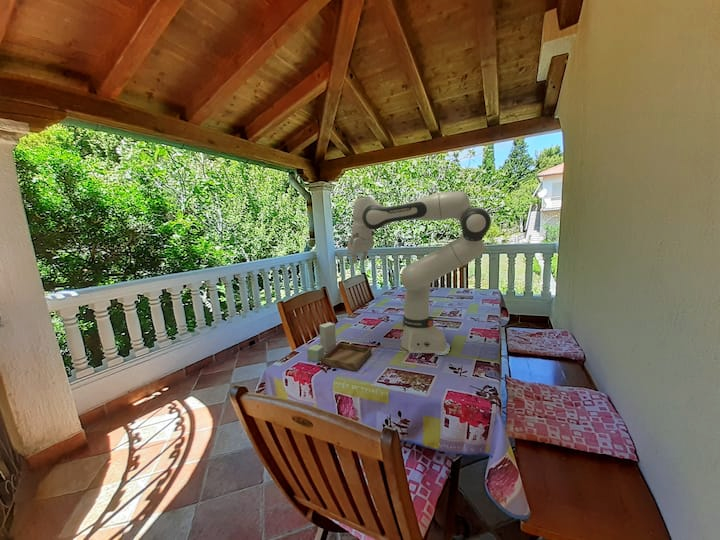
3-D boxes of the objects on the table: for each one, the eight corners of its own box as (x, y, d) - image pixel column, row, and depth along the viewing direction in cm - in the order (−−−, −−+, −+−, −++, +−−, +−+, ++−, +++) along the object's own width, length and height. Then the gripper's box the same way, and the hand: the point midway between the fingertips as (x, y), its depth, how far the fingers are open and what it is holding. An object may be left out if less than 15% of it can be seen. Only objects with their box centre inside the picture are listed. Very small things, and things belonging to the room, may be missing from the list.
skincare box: (330, 345, 136) (329, 321, 134) (336, 348, 133) (335, 323, 131) (320, 350, 132) (319, 325, 130) (326, 352, 129) (324, 327, 127)
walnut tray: (371, 354, 126) (371, 347, 126) (356, 371, 112) (356, 364, 111) (339, 348, 133) (339, 342, 132) (321, 364, 118) (320, 357, 118)
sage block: (324, 357, 125) (323, 346, 124) (317, 362, 121) (317, 350, 120) (314, 355, 127) (313, 344, 126) (307, 360, 123) (307, 349, 122)
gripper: (357, 235, 123) (355, 266, 126) (376, 231, 141) (374, 259, 144) (344, 233, 125) (343, 264, 129) (364, 230, 143) (362, 257, 147)
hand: (359, 261), depth 137 cm, fingers open, 8 cm apart
